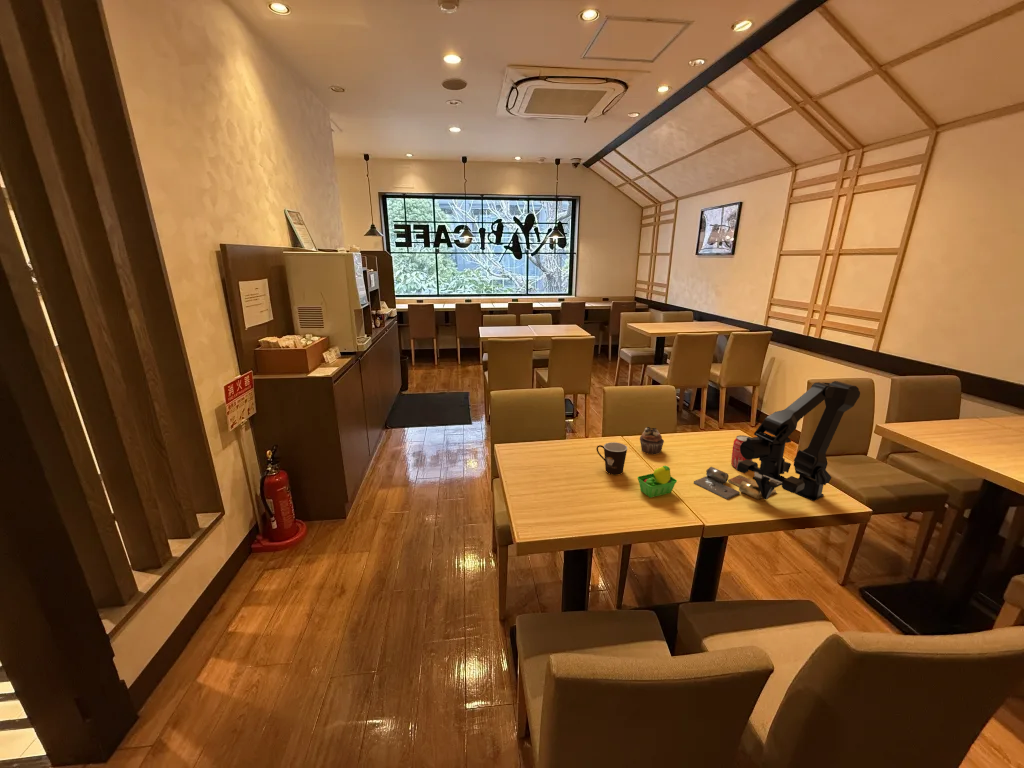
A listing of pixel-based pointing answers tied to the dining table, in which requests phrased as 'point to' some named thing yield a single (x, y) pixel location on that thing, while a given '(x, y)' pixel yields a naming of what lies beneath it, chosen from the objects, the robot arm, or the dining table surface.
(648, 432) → the cupcake
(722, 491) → the steel leaf
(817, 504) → the dining table surface
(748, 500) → the dining table surface
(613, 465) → the coffee mug
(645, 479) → the fruit basket
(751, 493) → the brass leaf
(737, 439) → the soda can
